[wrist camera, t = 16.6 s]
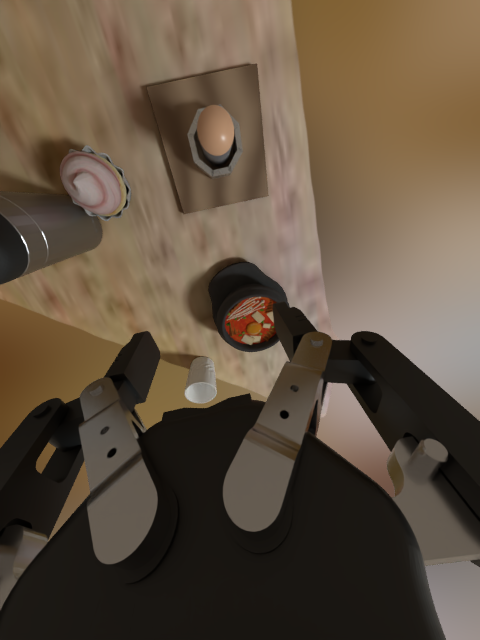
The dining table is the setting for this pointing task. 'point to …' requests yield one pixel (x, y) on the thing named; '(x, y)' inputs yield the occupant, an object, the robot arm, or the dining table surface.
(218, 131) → the grey cylinder tan top
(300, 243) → the dining table surface
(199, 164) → the grey octagonal sleeve
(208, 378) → the white cup
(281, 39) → the dining table surface
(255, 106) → the board
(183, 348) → the dining table surface
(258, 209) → the dining table surface
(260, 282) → the casserole
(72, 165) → the cupcake
